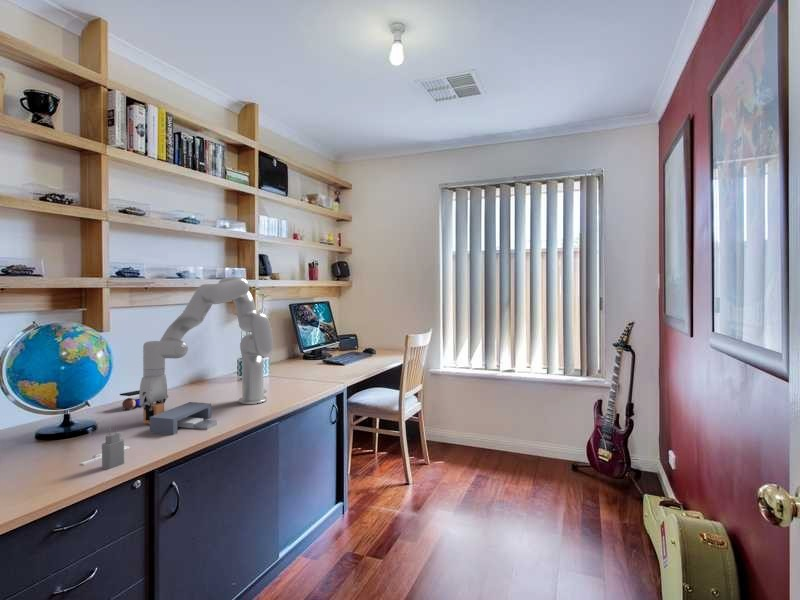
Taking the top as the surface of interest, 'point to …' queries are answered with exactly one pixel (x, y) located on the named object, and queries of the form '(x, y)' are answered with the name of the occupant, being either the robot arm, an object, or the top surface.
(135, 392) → the figurine character
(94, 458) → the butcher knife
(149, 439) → the top surface
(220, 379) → the top surface
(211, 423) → the steel token
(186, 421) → the scraper tool
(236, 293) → the robot arm
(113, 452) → the power adapter
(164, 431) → the riser shelf
